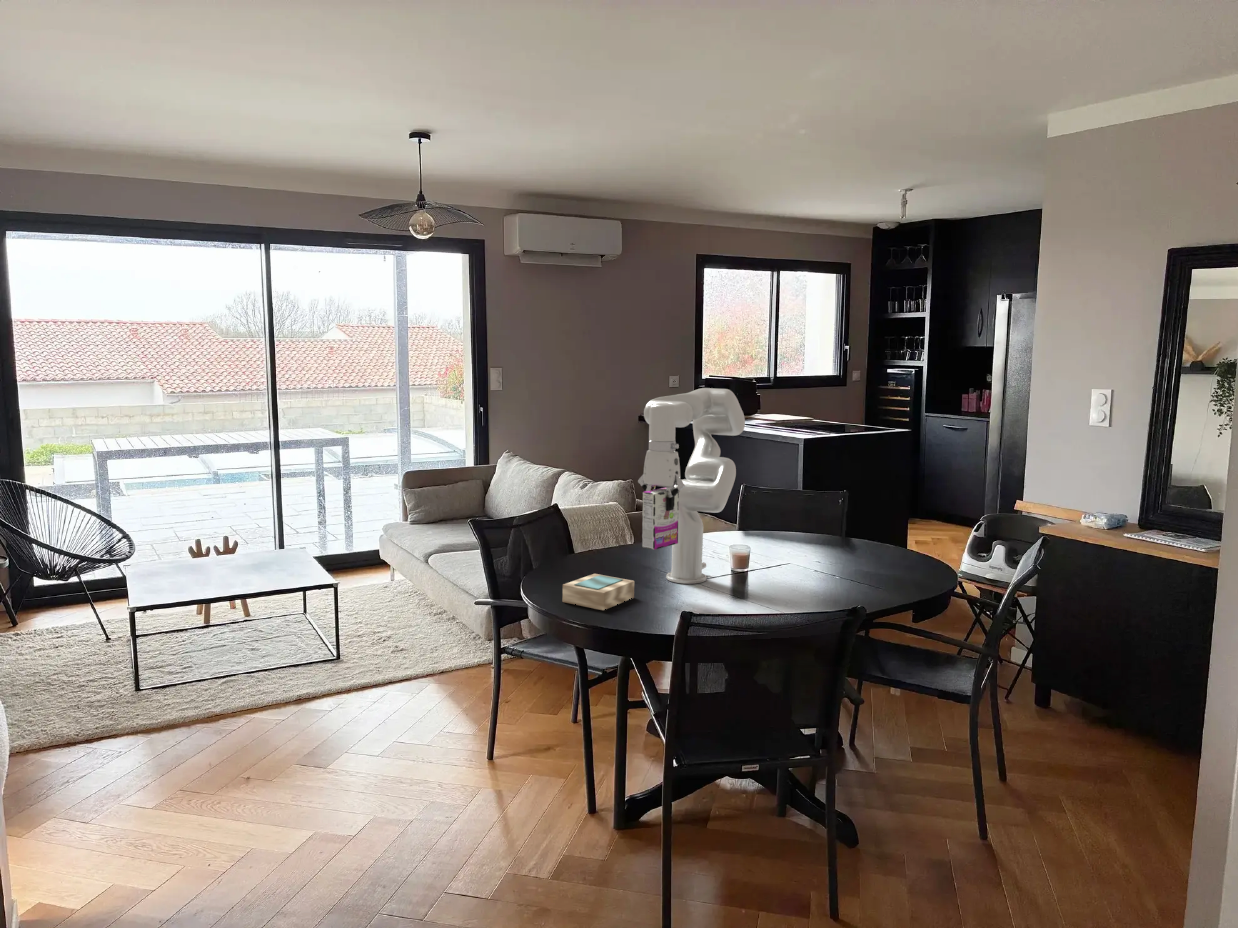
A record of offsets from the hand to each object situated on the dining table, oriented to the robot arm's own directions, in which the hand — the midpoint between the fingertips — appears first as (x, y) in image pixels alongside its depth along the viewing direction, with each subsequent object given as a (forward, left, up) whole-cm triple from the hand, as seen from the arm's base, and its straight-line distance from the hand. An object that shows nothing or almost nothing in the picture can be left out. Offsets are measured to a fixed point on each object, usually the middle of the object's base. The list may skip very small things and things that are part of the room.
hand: (660, 508), depth 266 cm
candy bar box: (0, 0, -11) cm, 11 cm away
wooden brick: (+13, -12, -26) cm, 32 cm away
